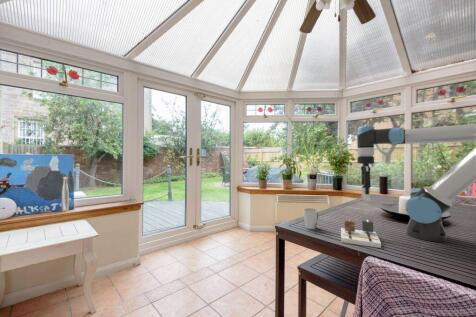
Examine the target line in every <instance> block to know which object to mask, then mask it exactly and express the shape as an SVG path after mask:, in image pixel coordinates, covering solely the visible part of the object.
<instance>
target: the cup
mask: <svg viewBox="0 0 476 317" xmlns="http://www.w3.org/2000/svg"><path fill="white" fill-rule="evenodd" d="M319 212H320V211H319V209H318V208H313V207H312V208H311V207H308V208H303V212H302V214H303V219H304V224H305V228H306V229H308V230H315V229H317V226H318V221H319Z"/></svg>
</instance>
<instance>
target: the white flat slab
mask: <svg viewBox="0 0 476 317" xmlns="http://www.w3.org/2000/svg"><path fill="white" fill-rule="evenodd" d="M340 239H341V240H340V241H341V243H344V244H345V243H346V244H351V245H359V246H364V247H365V246H366V247H372V248H377V249H378V248H379V249H382V243H381V240H380V238H379V236H378V234H377V232H376V231H373V232H367V231H363V230H362V229H360V230H359V229H355V232H351V231H345V227H340Z"/></svg>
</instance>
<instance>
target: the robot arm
mask: <svg viewBox="0 0 476 317" xmlns="http://www.w3.org/2000/svg"><path fill="white" fill-rule="evenodd" d="M356 134H357V135H356V138H357V139H356V140H357V141H356V142H357V149H356V151H355V152H357V156H356V157H357V164H360V165H361V164H362V165H361V167H360V170H361V172H360V173H361V183H360V184H361V197H362V198H363V201H366V202H371V187H372V184H371V168H372V167H371V166H370V164H372V165H373V164H375V145H392V146H393V145H394V146H396V145H408V144H409V145H412V144H413V145H414V144H436V143H437V144H438V143H458V142H459V143H463V142H476V123H469V124H458V125H457V124H456V125H455V124H454V125H446V126H445V125H444V126H434V127H432V126H431V127H420V128H408V129H406V128H405V129H404V128H402V127H389V128H379V129H375V127H374V126H373V125H364V126H359V127H358V128H357V133H356ZM474 183H476V146H475V147H473V149H471V150H470V151H469V152H468V153H467V154H466V155H465V156H463V157H462V158H461V159H460V160H459V161H458V162H457V163H455V164H454V165H453V166H452V167H451V168H450V169H448V171H446V172H445V173H444V174H442V175H441V176H440V177H439V178H438V179H437V180H436V181H435V182H434V183H432V184H431V185H430V186H422V188H420V189H418V188H412V189H410V193H409V195H410V198H409V199H407V200H406V203H405V211H406V213H407V216H409V221H408V223H407V225H406V228H405V233H406V234H407V235H409V236H411V237H413V238H415V239H418V240H423V241H429V242H437V243H441V242H442V243H443V242H446V241H448V238H447V237H448V236H447V235H448V234H447V232H446V230H445V228H444V225H443V220H442V219H443V216H442V215H443V214H445V213H446V212H447V211H448V210H449V209H451V208H452V207H453V200H455V199H456V198H457V197H458V196H459V195H462V193H463V192H465V191H466V190H468V189H469V188H470V187H471V186H473V184H474Z"/></svg>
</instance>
